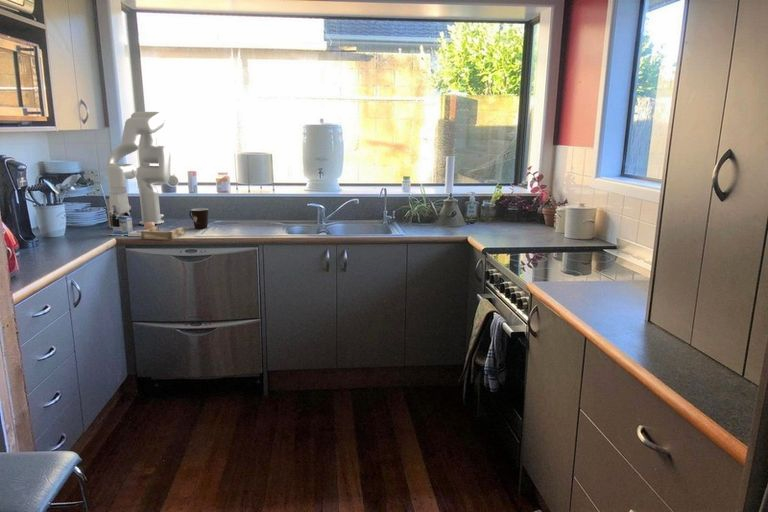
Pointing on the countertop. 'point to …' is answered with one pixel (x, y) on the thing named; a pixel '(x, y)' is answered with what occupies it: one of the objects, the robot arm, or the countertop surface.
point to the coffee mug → (200, 217)
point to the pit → (135, 233)
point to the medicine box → (124, 225)
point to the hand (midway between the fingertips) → (122, 225)
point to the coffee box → (109, 214)
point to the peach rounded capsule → (149, 225)
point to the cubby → (161, 233)
